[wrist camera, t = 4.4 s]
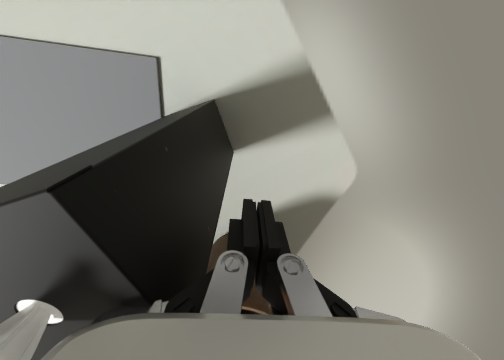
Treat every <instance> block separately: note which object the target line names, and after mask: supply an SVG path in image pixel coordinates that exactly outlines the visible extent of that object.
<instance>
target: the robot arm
mask: <svg viewBox="0 0 504 360" xmlns="http://www.w3.org/2000/svg"><path fill="white" fill-rule="evenodd" d="M254 279H255V289H258V290H259V296H262V297H263V298H264V299H265V300H266V301H267V302H268V310H269V314H270V315H257V314H241V310H242V304H243V303H244V302H245V301H246V300H247V299H248V298H249V297H250V293H251V289H253V285H254ZM41 360H481V359H480V358H479V357H478V356H477V355H476V354H474V352H472V351H471V350H470V349H469V348H467V347H466V346H465V345H463V344H462V343H460V342H459V341H456V340H455V339H453V338H451V337H449V336H447V335H445V334H443V333H440V332H438V331H435V330H433V329H430V328H428V327H424V326H421V325H417V324H413V323H408V322H406V321H404V320H402V319H400V318H398V317H394V316H390V315H386V314H383V313H379V312H375V311H372V310H367V309H364V308H360V307H355V309H354V308H352V307H351V306H350V305H349V304H348V303H347V302H345V301H344V300H343V299H341V298H340V297H339V296H337V295H336V294H334V293H333V292H332V291H330V290H329V289H328V288H326V287H325V286H323V285H322V284H321V283H319V282H318V281H316V280H315V279H314V278H313V277H312V275H311V273H310V271H309V269H308V267H307V265H306V264H305V262H304V260H302V259H301V258H300V257H299V256H297V255H294V254H291V252H290V249H289V245H288V241H287V238H286V234H285V230H284V226H283V223H282V222H275V219H274V215H273V210H272V206H271V201H266V200H261V202H258V205H257V211H256V202H253V200H252V199H244V200H243V210H242V219H241V220H240V219H230V223H229V233H228V243H227V251H226V252H224V253H222V254H221V255H220V256H219V258H218V260H217V263H216V266H215V268H214V269H212V270H211V271H210V272H208V273H207V274H205V275H204V276H202V277H201V278H199V279H198V280H197V281H195V282H194V283H192V284H191V285H189V286H188V287H187V288H185V289H184V290H182V291H181V292H179V293H178V294H176V295H175V296H174V297H173V298H172V299H170V301H166V302H162V300H158V301H155V302H154V304H153V305H131V306H126V307H120V308H115V309H111V310H108V311H106V312H104V313H102V314H101V315H99V316H98V317H97V318H96V319H95V320H94V321H93V322H92V324H91V325H90V326H87V327H85V328H83V329H81V330H79V331H77V332H75V333H73V334H71V335H69V336H68V337H66V338H65V339H63V340H62V341H60V342H59V343H58V344H57V345H55V346H54V347H53V348H52V349H51V350H50V351H49V352H48V353H47V354H46V355H45V356H44V357H43V358H42V359H41Z"/></svg>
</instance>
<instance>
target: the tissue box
mask: <svg viewBox="0 0 504 360" xmlns="http://www.w3.org/2000/svg"><path fill="white" fill-rule="evenodd" d="M233 153H234V152H233V149H232V146H231V143H230V141H229V138H228V135H227V132H226V130H225V127H224V124H223V122H222V119H221V116H220V114H219V111H218V108H217V106H216V103H215V100H211V101H208V102H205V103H202V104H199V105H197V106H194V107H191V108H188V109H185V110H182V111H179V112H176V113H174V114H171V115H168V116H165V117H162V118H160V119H158V120H155V121H153V122H151V123H148V124H146V125H144V126H141V127H139V128H137V129H134V130H132V131H130V132H127V133H125V134H123V135H121V136H118V137H116V138H114V139H111V140H109V141H107V142H104V143H102V144H100V145H97V146H95V147H93V148H90V149H88V150H86V151H83V152H81V153H79V154H76V155H74V156H72V157H69V158H67V159H65V160H63V161H60V162H58V163H56V164H53V165H51V166H49V167H46V168H44V169H42V170H39V171H37V172H35V173H32V174H30V175H27V176H25V177H23V178H21V179H18V180H16V181H14V182H11V183H9V184H7V185H5V186H2V187H0V360H41V359H42V358H43V357H44V356H45V355H46V354H47V353H48V352H49V351H50V350H51V349H52V348H53V347H54V346H55V345H57V344H58V343H59V342H60V341H62V340H63V339H65V338H66V337H68V336H69V335H71V334H73V333H75V332H77V331H79V330H81V329H83V328H85V327H87V326H90V325H91V324H92V322H93V321H94V320H95V319H96V318H97V317H98V316H99V315H101V314H102V313H104V312H106V311H108V310H111V309H115V308H120V307H126V306H131V305H153V304H154V302H155V301H158V300H162V302H166V301H170V299H172V298H173V297H174V296H175V295H176V294H178V293H179V292H181V291H182V290H184V289H185V288H187V287H188V286H189V285H191V284H192V283H194V282H195V281H197V280H198V279H199V278H201V277H202V276H204V275H205V274H206V272H207V267H208V263H209V258H210V254H211V250H212V245H213V241H214V236H215V232H216V228H217V223H218V219H219V214H220V210H221V206H222V201H223V197H224V192H225V188H226V183H227V179H228V175H229V170H230V166H231V161H232V157H233Z"/></svg>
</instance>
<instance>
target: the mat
mask: <svg viewBox="0 0 504 360" xmlns="http://www.w3.org/2000/svg"><path fill="white" fill-rule="evenodd" d="M160 118H162V113H161V101H160V88H159V75H158V62H157V58H154V57H147V56H139V55H132V54H125V53H118V52H110V51H103V50H96V49H89V48H81V47H74V46H67V45H60V44H52V43H45V42H38V41H31V40H23V39H16V38H9V37H2V36H0V184H9V183H11V182H14V181H16V180H18V179H21V178H23V177H25V176H27V175H30V174H32V173H35V172H37V171H39V170H42V169H44V168H46V167H49V166H51V165H53V164H56V163H58V162H60V161H63V160H65V159H67V158H69V157H72V156H74V155H76V154H79V153H81V152H83V151H86V150H88V149H90V148H93V147H95V146H97V145H100V144H102V143H104V142H107V141H109V140H111V139H114V138H116V137H118V136H121V135H123V134H125V133H127V132H130V131H132V130H134V129H137V128H139V127H141V126H144V125H146V124H148V123H151V122H153V121H155V120H158V119H160Z"/></svg>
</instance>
